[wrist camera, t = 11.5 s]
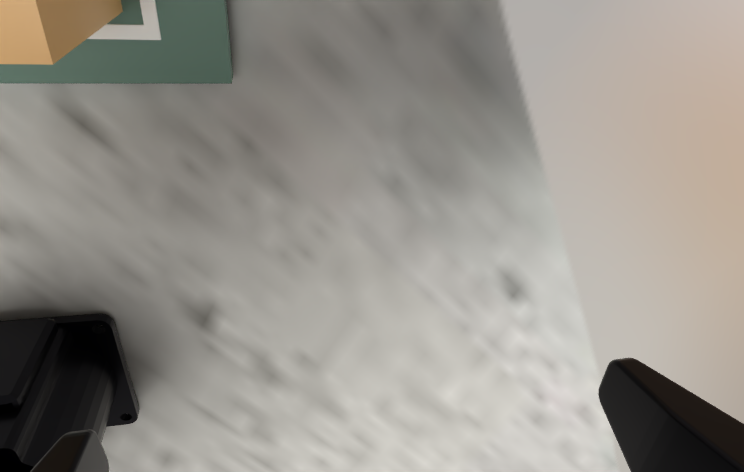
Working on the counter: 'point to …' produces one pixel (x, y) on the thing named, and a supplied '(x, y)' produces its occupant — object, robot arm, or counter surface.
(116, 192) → the counter surface
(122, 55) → the board
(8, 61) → the block
